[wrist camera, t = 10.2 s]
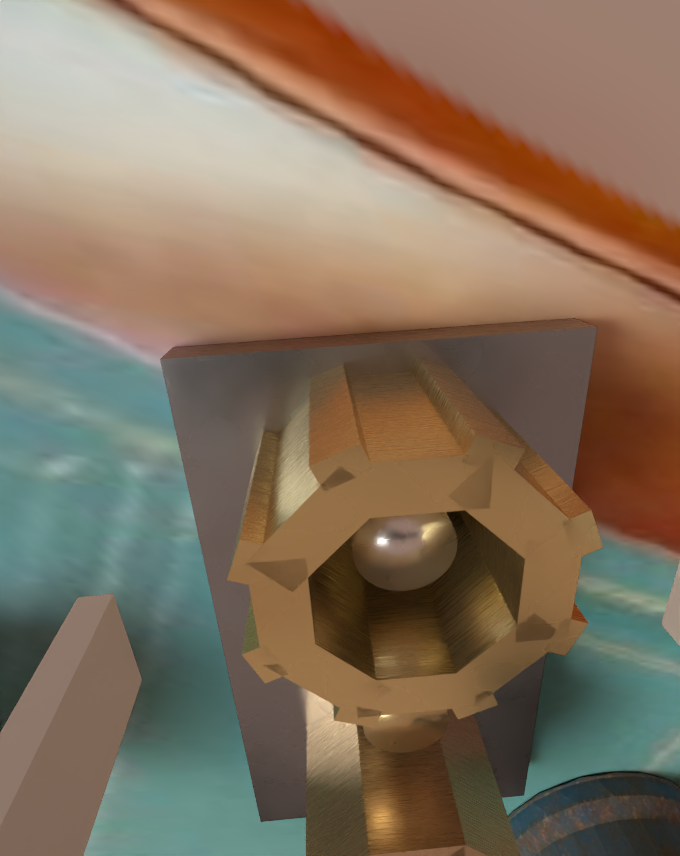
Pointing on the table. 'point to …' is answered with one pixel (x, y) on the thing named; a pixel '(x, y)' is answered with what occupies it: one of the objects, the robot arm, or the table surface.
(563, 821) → the lantern
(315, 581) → the brass gear
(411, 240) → the table surface
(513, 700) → the carrier
